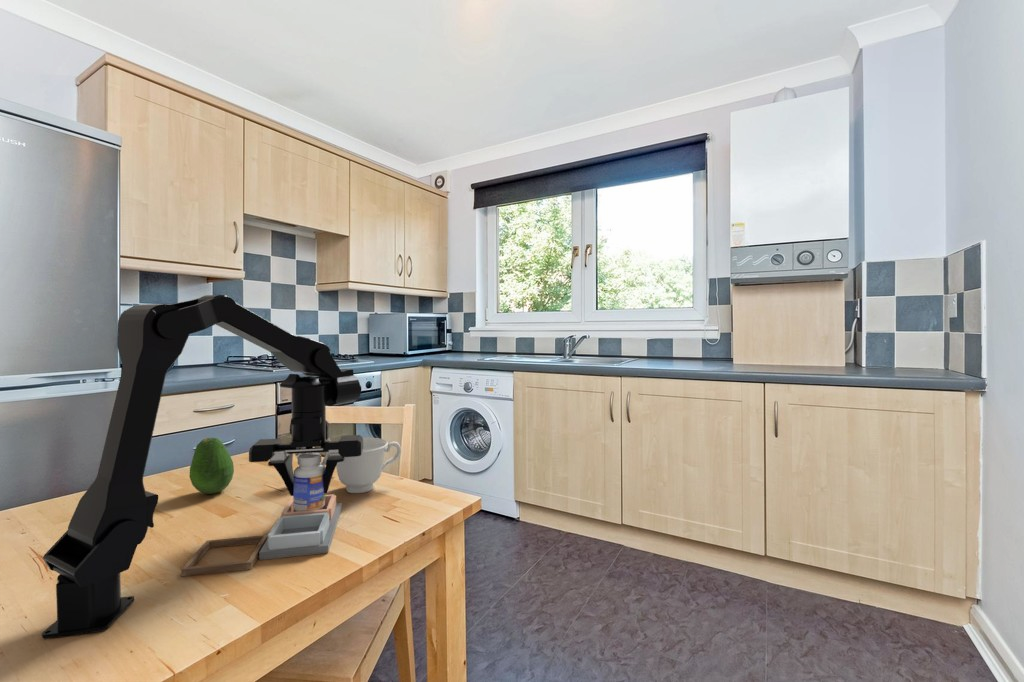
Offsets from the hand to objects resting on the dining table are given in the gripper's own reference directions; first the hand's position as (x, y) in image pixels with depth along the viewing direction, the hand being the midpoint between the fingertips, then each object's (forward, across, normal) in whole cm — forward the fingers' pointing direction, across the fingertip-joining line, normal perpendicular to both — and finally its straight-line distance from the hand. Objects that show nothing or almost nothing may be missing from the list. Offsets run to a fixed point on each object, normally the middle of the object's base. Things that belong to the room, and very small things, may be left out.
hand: (309, 493), depth 86 cm
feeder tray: (+5, +10, +11) cm, 16 cm away
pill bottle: (+3, 0, 0) cm, 3 cm away
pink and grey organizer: (+5, 0, +4) cm, 7 cm away
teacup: (+5, -9, -16) cm, 19 cm away
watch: (+5, +3, -23) cm, 23 cm away
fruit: (+5, +23, -20) cm, 31 cm away
